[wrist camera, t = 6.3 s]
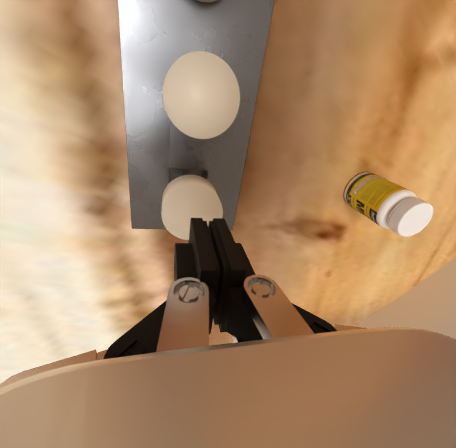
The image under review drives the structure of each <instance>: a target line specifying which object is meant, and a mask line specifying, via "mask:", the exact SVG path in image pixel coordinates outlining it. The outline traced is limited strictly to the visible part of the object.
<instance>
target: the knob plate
mask: <svg viewBox="0 0 456 448" xmlns="http://www.w3.org/2000/svg"><path fill="white" fill-rule="evenodd" d="M273 4H274V0H217V1H214V2H200V1H198V0H118V7H119V24H120V40H121V57H122V73H123V90H124V106H125V123H126V140H127V156H128V173H129V189H130V206H131V222H132V229H166V228H165V226H164V224H163V221H162V215H161V212H162V196H163V192H164V190H165V188H166V187H167V185H168V184H169V183H170V182H171V181H172V180H174V179H175V178H177V177H180V176H183V175H197V176H201V177H203V178H205V179H206V180H208V181H209V182H210V183H211V184H212V185H213V187H214V188H215V190H216V193H217V195H218V197H219V200H220V202H221V204H222V208H223V216H222V218H224V219H225V221H226V223H227V225H228V228H229V230H233V226H234V220H235V215H236V209H237V204H238V198H239V193H240V187H241V182H242V176H243V170H244V165H245V159H246V154H247V148H248V143H249V137H250V132H251V126H252V121H253V115H254V110H255V104H256V99H257V93H258V87H259V82H260V76H261V71H262V65H263V60H264V54H265V49H266V43H267V38H268V32H269V27H270V21H271V16H272V10H273ZM194 51H205V52H209V53H212V54H214V55H217V56H218V57H220V58H221V59H223V60H224V61H225V62H226V63H227V64H228V65H229V66H230V68H231V69H232V71H233V72H234V74H235V76H236V79H237V82H238V85H239V91H240V104H239V109H238V112H237V115H236V117H235V119H234V121H233V123H232V124H231V125H230V127H229V128H228V129H227V130H226V131H224V132H223V133H222V134H220V135H218V136H216V137H213V138H209V139H198V138H193V137H190V136H188V135H186V134H184V133H183V132H181V131H180V130H179V129H178V128H177V127H176V126H175V125H174V124H173V123H172V121H171V120H170V118H169V116H168V115H167V112H166V110H165V106H164V102H163V84H164V80H165V77H166V74H167V72H168V70H169V68H170V67H171V65H172V64H173V63H174V62H175V61H176V60H177V59H178V58H180V57H181V56H183V55H185V54H187V53H190V52H194Z"/></svg>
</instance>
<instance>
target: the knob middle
mask: <svg viewBox="0 0 456 448" xmlns="http://www.w3.org/2000/svg"><path fill="white" fill-rule="evenodd" d="M163 102H164V106H165V110H166V112H167V115H168V116H169V118H170V120H171V121H172V123H173V124H174V125H175V126H176V127H177V128H178V129H179V130H180V131H181V132H183V133H184V134H186V135H188V136H190V137H193V138H198V139H209V138H213V137H216V136H218V135H220V134H222V133H223V132H224V131H226V130H227V129H228V128H229V127H230V125H231V124H232V123H233V121H234V119H235V117H236V115H237V112H238V109H239V104H240V91H239V85H238V82H237V79H236V76H235V74H234V72H233V71H232V69H231V68H230V66H229V65H228V64H227V63H226V62H225V61H224V60H223V59H221V58H220V57H218V56H217V55H214V54H212V53H209V52H205V51H194V52H190V53H187V54H185V55H183V56H181V57H180V58H178V59H177V60H176V61H175V62H174V63H173V64H172V65H171V67H170V68H169V70H168V72H167V74H166V77H165V80H164V84H163Z"/></svg>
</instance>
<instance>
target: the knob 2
mask: <svg viewBox="0 0 456 448" xmlns="http://www.w3.org/2000/svg"><path fill="white" fill-rule="evenodd" d="M198 1H200V2H214V1H217V0H198Z"/></svg>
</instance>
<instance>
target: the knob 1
mask: <svg viewBox="0 0 456 448" xmlns="http://www.w3.org/2000/svg"><path fill="white" fill-rule="evenodd" d="M161 215H162V221H163V224H164V226H165V228H166V229H167V230H168V231H169V232H170V233H171V234H172V235H174V236H176V237H178V238H180V239H184V240H189V232H190V220H191V218H202V219H203V221H207V225H208V224H209V221H213V218H222V216H223V208H222V204H221V202H220V200H219V197H218V195H217V193H216V190H215V188H214V187H213V185H212V184H211V183H210V182H209V181H208V180H206V179H205V178H203V177H201V176H197V175H183V176H180V177H177V178H175V179H174V180H172V181H171V182H170V183H169V184H168V185H167V187H166V188H165V190H164V192H163V196H162V212H161Z"/></svg>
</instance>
